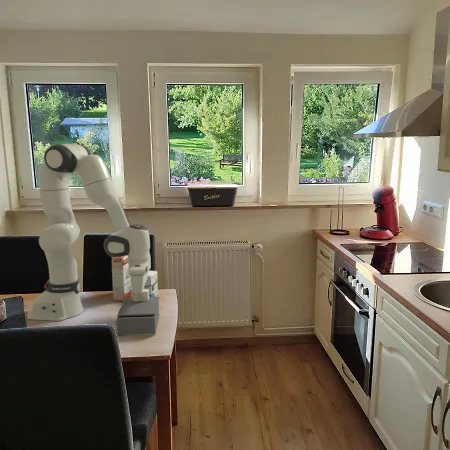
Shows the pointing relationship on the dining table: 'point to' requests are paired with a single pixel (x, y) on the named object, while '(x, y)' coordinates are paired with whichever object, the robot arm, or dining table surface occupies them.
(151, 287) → the ink box
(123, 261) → the cracker box
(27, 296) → the dining table surface
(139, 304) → the lid
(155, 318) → the base
